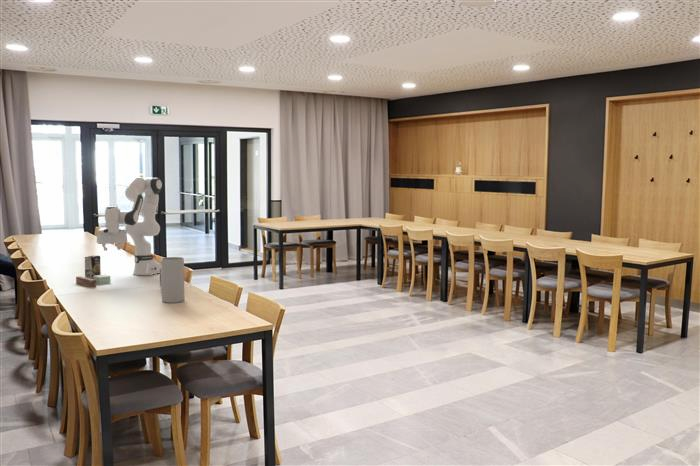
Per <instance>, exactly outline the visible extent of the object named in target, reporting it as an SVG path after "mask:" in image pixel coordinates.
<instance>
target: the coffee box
mask: <svg viewBox="0 0 700 466" xmlns="http://www.w3.org/2000/svg"><path fill="white" fill-rule="evenodd" d="M101 273H102V272H101V255H88V256H85V257H84V277H86V278H90V279H93V276H96V275H102V274H101Z"/></svg>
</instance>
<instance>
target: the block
mask: <svg viewBox="0 0 700 466" xmlns="http://www.w3.org/2000/svg"><path fill="white" fill-rule="evenodd" d="M93 279H94V280H96V285H106V284H111V275H107V274H101V275H96V276H93Z"/></svg>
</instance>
